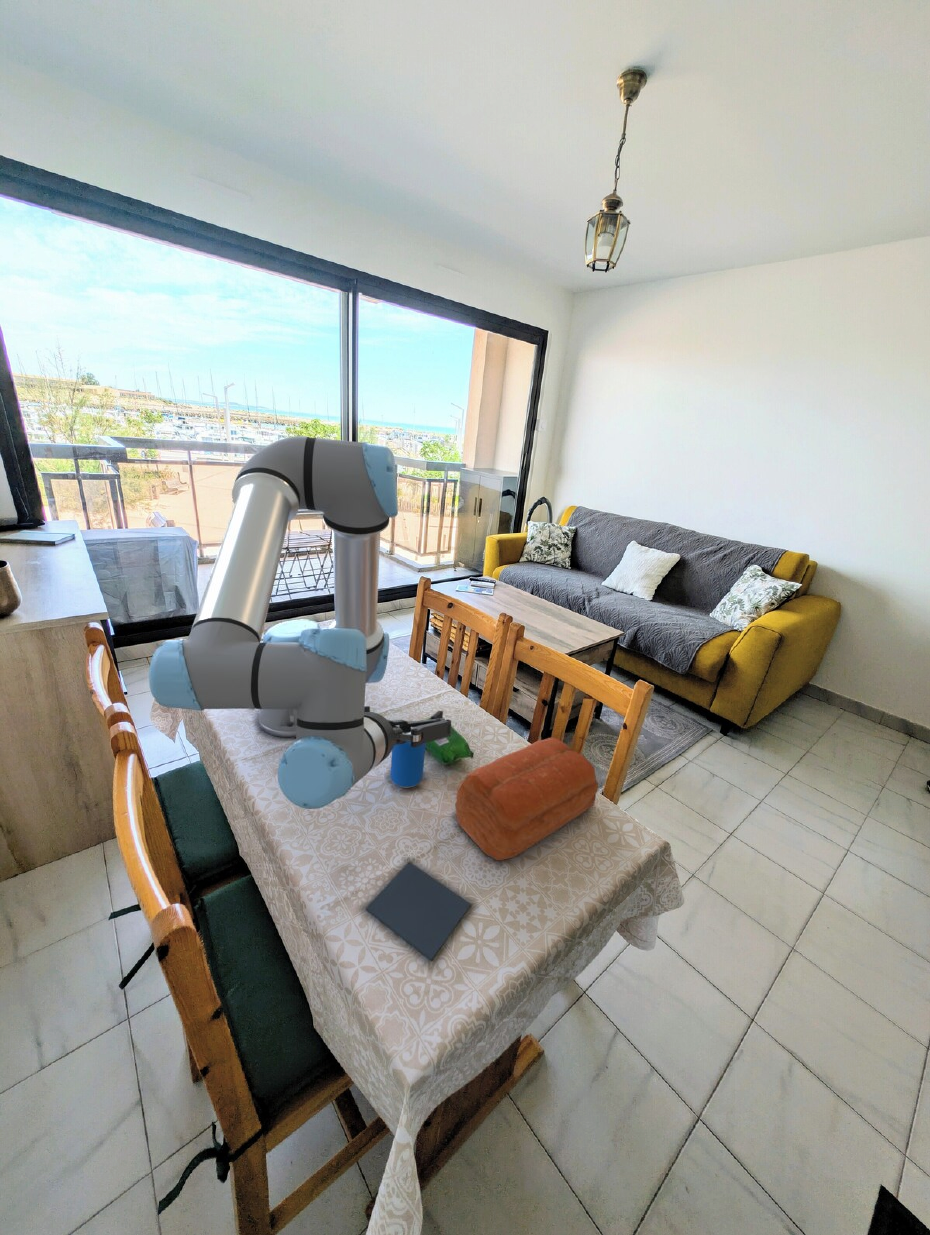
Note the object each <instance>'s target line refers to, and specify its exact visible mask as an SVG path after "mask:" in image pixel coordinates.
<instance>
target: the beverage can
mask: <svg viewBox="0 0 930 1235" xmlns="http://www.w3.org/2000/svg"><path fill="white" fill-rule="evenodd" d="M406 721H407V722H413V721H414V720H406ZM396 726H397V727H399V725H396ZM425 745H426V743H424V744H421V745H420V746H418V747H411V746H410V741H407V742H406V743H404V744H397V745H394V747H393V749H392V751H391V756H390V757H391V758H390V774H389V775H390V776H389V777H390V779H391V781H392V783H393V784H395V785H396V786H397V787H401V788H406V789H407V788H408V789H409V788H412V787H415V786H418V785H419V784H421V782H422V780H423V777H424V766H425V756H426V747H425Z"/></svg>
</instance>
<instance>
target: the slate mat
mask: <svg viewBox="0 0 930 1235" xmlns="http://www.w3.org/2000/svg"><path fill="white" fill-rule="evenodd" d="M471 905H472V904H471V902H469V901H468V900H466V899H464V898H463V897H462V896H460V895H459V894H457V893H456V892H454V891H453V890H451V889H450V888H448V887H447V886H446V885H444V884H443V883H441V882H439V881H438V880H437V879H435V878H434V877H432V876H431V875H430V874H428V873H426V872H425V871H423V870H422V869H421V868H419V867H417V865H415V864H413V863H411V862H410V861H409V862H408V863H406V865H405V866H404V867H403V868H402V869H401V870H400V871H399V872H398V873H397V874H396V875H395V876H394V877H393V878H392V879H391V881H390V882H389V883H388V884H387V885H386V886H385V887H384V888H383V889H382V890H381V891H380V892H379V893H378V894H377V895H376V896H375V897H374V898H373V899H372V900H371V902H370V903H368V905H367V906H366V907H365V911H366V912H368V913H369V914H370V915H372V916H373V917H374V918H376V919H377V920H378V921H379V922H380V923H382V924H383V925H385V926H386V927H387V928H388V929H389V930H391V931H392V932H393V933H395V934H396V935H397V936H398V937H399V938H401V939H402V940H404V941H405V942H406V943H407V944H408V945H410V946H411V947H413V949H415V950H416V951H418V952H419V954H421V955H423V957H425V958H426V959H428V960H429V961H430V962H433V960H434V958H435V957H436V956H437V954H438V953H439V951H440V950H441V948H442V947H443V945H444V944H446V941H447V940H448V938H449V937H450V936H451V935H452V933H453V932H454V930H455V929H456V927H457V926H458V924H459V923H460V921H461V920H462V919H463V918H464V916H465V915H466V914H467V912H468V911H469V909H470V908H471V907H472V906H471Z"/></svg>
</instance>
